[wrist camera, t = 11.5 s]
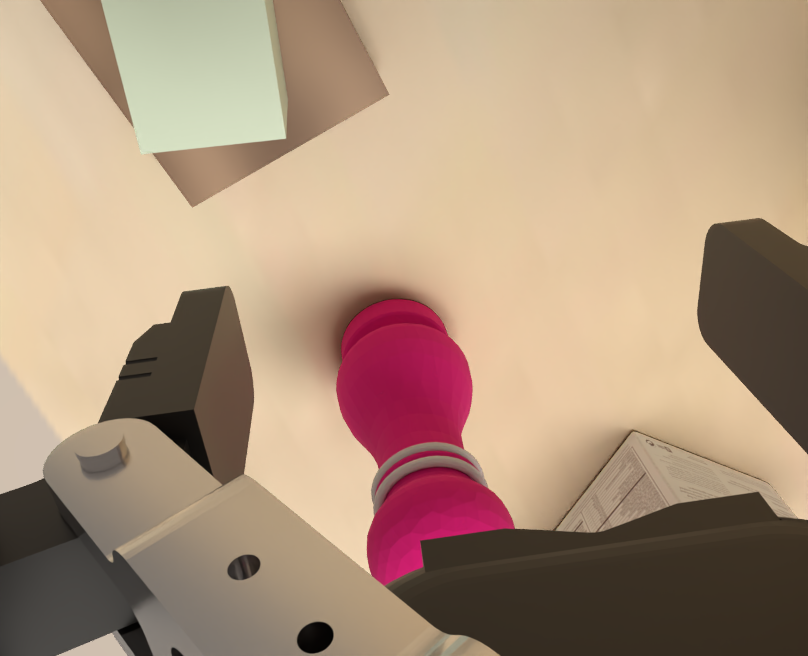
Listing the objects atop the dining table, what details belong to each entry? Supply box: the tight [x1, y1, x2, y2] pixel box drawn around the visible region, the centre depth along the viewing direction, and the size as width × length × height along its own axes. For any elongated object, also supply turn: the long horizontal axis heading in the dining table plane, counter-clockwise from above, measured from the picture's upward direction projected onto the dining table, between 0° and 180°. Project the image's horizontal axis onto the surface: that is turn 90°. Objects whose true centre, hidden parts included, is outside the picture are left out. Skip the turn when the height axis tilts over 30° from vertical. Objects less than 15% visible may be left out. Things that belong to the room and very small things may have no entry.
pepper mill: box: [336, 299, 515, 586], centre depth 34 cm, size 7×7×20 cm
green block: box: [101, 0, 288, 154], centre depth 27 cm, size 5×5×6 cm
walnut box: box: [40, 0, 389, 207], centre depth 32 cm, size 10×10×5 cm
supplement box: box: [555, 432, 798, 532], centre depth 46 cm, size 13×13×18 cm
